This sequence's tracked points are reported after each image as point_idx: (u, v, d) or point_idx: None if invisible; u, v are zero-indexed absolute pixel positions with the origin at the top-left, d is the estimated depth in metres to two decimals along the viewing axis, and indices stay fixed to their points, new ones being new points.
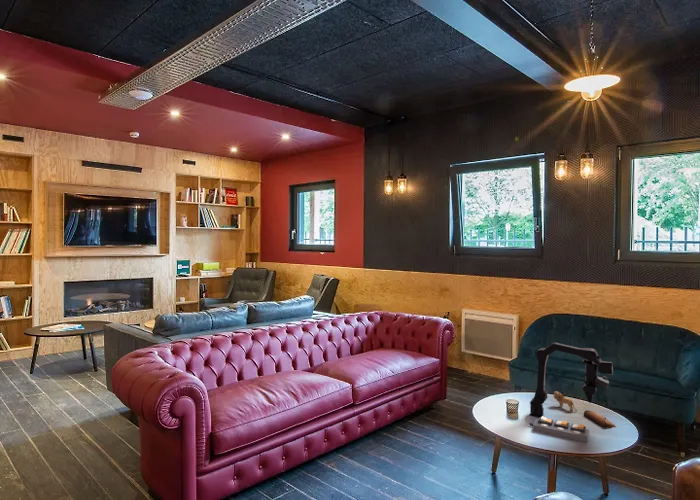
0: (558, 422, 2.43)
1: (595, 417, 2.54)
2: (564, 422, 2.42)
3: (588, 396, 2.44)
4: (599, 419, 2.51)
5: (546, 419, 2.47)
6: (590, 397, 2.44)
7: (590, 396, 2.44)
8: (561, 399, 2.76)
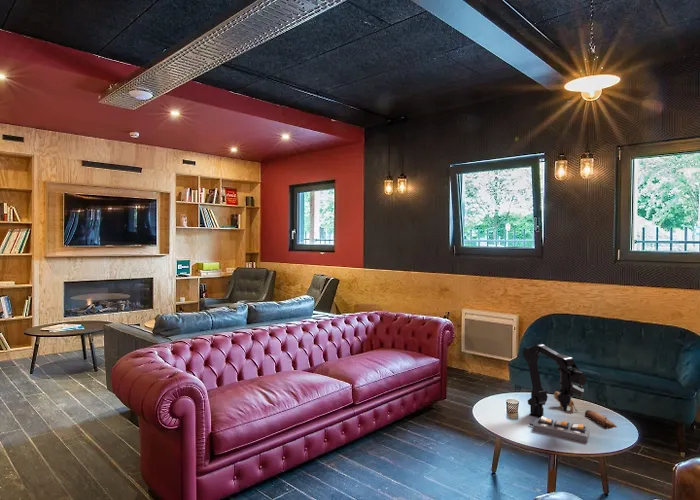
0: (558, 422, 2.43)
1: (596, 417, 2.54)
2: (564, 422, 2.42)
3: (563, 405, 2.41)
4: (600, 419, 2.51)
5: (546, 419, 2.47)
6: (565, 406, 2.41)
7: (565, 405, 2.41)
8: None
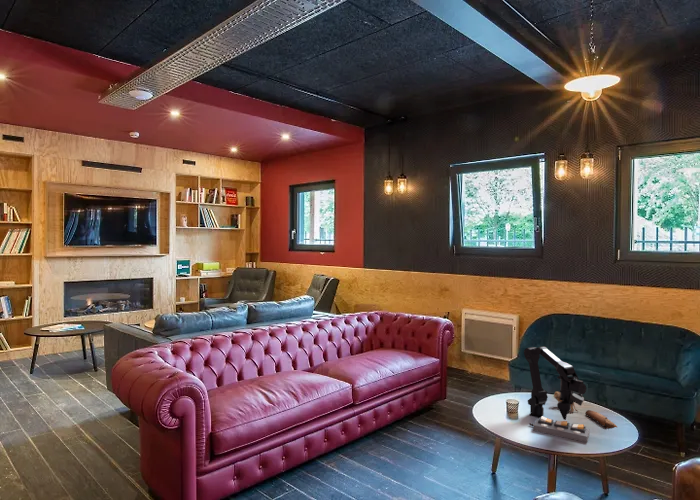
0: (558, 422, 2.43)
1: (596, 417, 2.54)
2: (564, 422, 2.42)
3: (563, 413, 2.41)
4: (600, 419, 2.51)
5: (546, 419, 2.47)
6: (565, 414, 2.41)
7: (565, 413, 2.41)
8: None
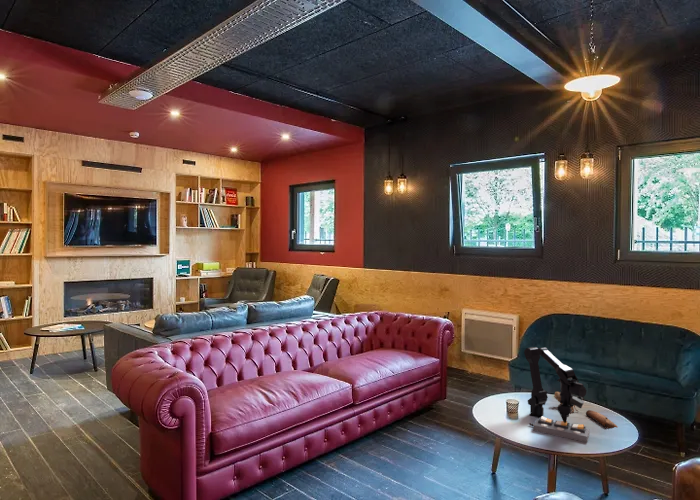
0: (558, 422, 2.43)
1: (596, 417, 2.54)
2: None
3: (563, 416, 2.41)
4: (600, 419, 2.51)
5: (546, 419, 2.47)
6: (565, 417, 2.41)
7: (565, 416, 2.41)
8: None
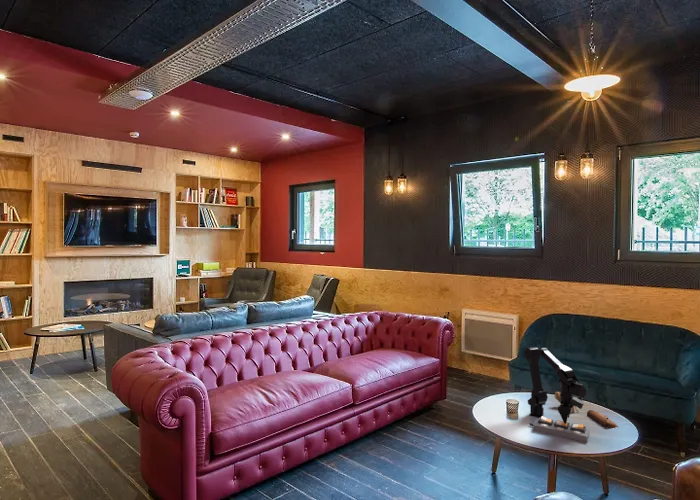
0: (559, 421, 2.43)
1: (597, 417, 2.54)
2: (564, 423, 2.42)
3: (563, 417, 2.41)
4: (601, 419, 2.51)
5: (546, 419, 2.47)
6: (565, 418, 2.40)
7: (565, 417, 2.40)
8: None
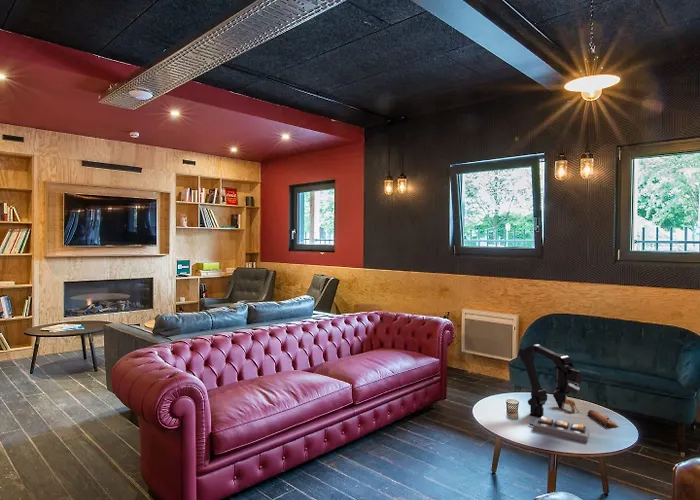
0: (559, 421, 2.43)
1: (598, 417, 2.54)
2: (565, 423, 2.42)
3: (558, 402, 2.45)
4: (602, 419, 2.51)
5: (546, 419, 2.47)
6: (560, 403, 2.45)
7: (560, 402, 2.45)
8: None
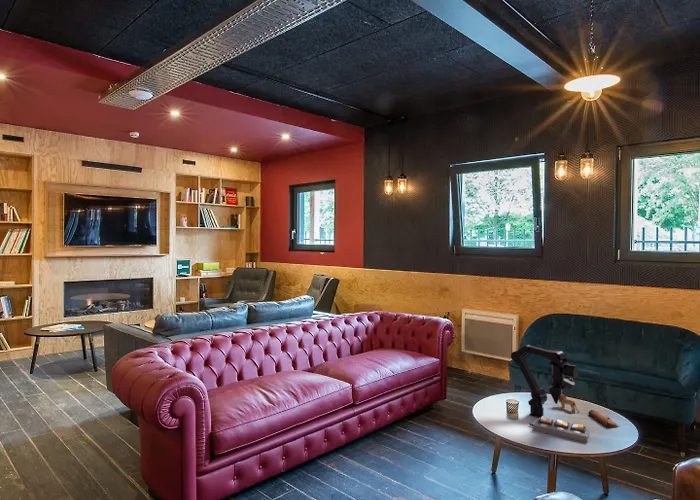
0: (559, 421, 2.43)
1: (598, 417, 2.54)
2: (565, 423, 2.42)
3: (554, 397, 2.50)
4: (602, 419, 2.51)
5: (546, 419, 2.47)
6: (556, 398, 2.50)
7: (556, 397, 2.50)
8: (563, 400, 2.74)
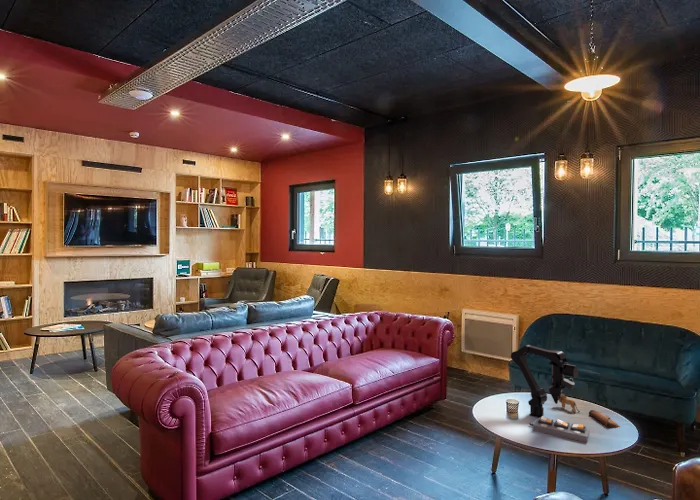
0: (559, 421, 2.43)
1: (599, 417, 2.54)
2: (565, 424, 2.42)
3: (554, 397, 2.50)
4: (603, 419, 2.51)
5: (546, 419, 2.47)
6: (556, 398, 2.50)
7: (556, 397, 2.50)
8: (563, 400, 2.74)
